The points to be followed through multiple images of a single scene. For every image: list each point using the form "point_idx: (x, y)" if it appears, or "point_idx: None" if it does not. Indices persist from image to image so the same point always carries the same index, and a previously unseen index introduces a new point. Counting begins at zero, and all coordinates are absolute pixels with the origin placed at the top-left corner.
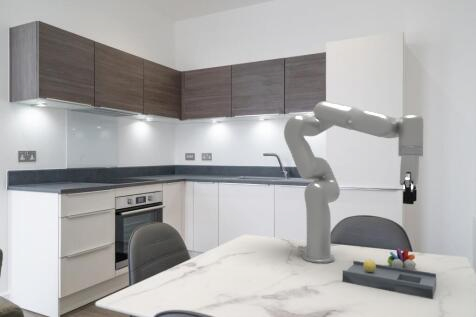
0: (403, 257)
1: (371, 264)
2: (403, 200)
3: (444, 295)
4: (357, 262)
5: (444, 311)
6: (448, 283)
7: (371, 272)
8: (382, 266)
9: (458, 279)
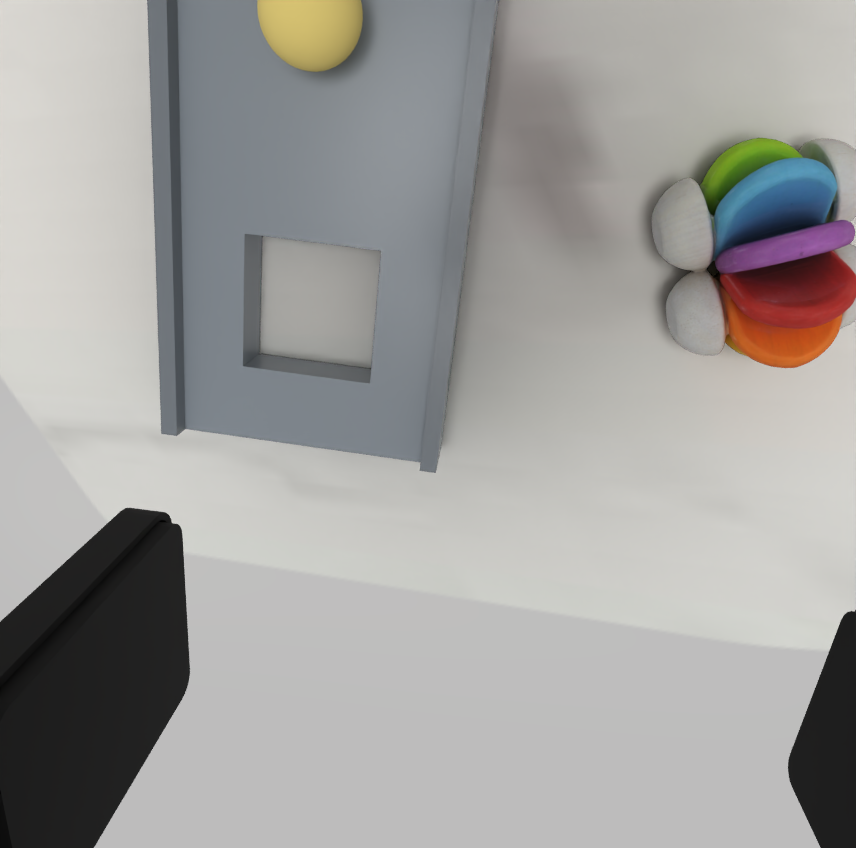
0: (740, 278)
1: (264, 30)
2: (97, 550)
3: (277, 467)
4: None
5: (60, 444)
6: (495, 508)
7: None
8: (462, 116)
9: (599, 565)
